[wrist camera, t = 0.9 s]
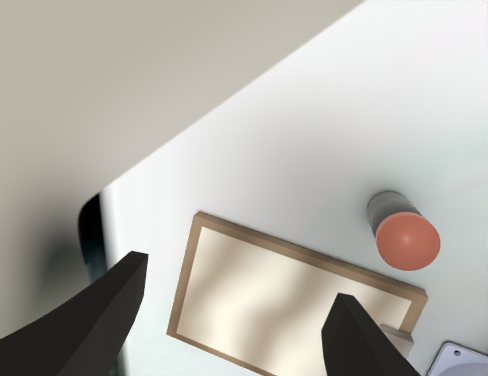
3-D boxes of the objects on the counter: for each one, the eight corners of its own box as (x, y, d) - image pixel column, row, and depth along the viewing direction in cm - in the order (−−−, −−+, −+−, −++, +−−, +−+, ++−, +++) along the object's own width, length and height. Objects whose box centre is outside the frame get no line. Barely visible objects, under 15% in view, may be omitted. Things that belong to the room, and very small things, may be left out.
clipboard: (424, 289, 27) (432, 305, 25) (367, 409, 30) (370, 431, 28) (198, 211, 30) (188, 219, 28) (171, 326, 34) (160, 341, 32)
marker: (416, 195, 25) (450, 228, 18) (400, 234, 26) (426, 278, 19) (373, 182, 26) (390, 209, 19) (358, 220, 27) (369, 259, 20)
